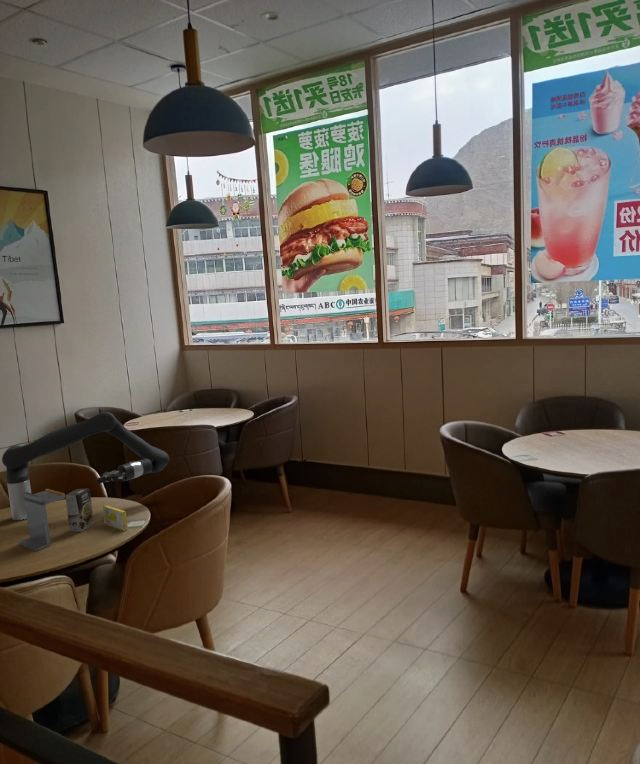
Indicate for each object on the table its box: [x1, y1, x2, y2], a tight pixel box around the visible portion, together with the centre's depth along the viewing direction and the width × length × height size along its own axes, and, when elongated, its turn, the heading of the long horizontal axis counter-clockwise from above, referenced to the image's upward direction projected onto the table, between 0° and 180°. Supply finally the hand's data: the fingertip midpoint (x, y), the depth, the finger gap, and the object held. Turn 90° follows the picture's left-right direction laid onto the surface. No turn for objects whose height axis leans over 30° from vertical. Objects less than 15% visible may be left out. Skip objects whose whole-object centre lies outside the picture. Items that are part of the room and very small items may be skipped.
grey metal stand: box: [17, 488, 66, 552], centre depth 250 cm, size 14×15×20 cm
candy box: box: [102, 504, 128, 532], centre depth 261 cm, size 16×2×8 cm, turn 48°
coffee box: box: [65, 488, 95, 533], centre depth 263 cm, size 9×6×16 cm
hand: (96, 481), depth 269 cm, fingers closed
